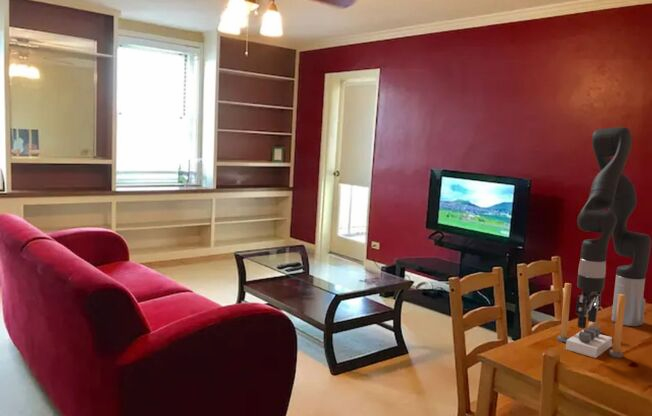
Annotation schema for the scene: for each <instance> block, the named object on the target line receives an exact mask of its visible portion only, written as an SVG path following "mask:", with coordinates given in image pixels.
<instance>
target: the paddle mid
mask: <svg viewBox="0 0 652 416" xmlns="http://www.w3.org/2000/svg"><path fill="white" fill-rule="evenodd" d="M583 330H584V332H586V333H590V334H591V339H593V340H594V339H595V337H596V331H595V330H591V329H588V327H587V328H584V329H583Z"/></svg>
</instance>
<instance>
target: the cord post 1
mask: <svg viewBox="0 0 652 416" xmlns="http://www.w3.org/2000/svg"><path fill="white" fill-rule="evenodd" d="M563 289H564V290H563V300H562V311H561V324H560V334H559V335H557V341H558V342H559V343H563V344H565V343H566V340H567V339H569V338H570V336H568V329H569V328H568V327H569V316H570V306H571V305H570V304H571V295H572V283H569V282H565V283H564V288H563Z"/></svg>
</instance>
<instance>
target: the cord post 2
mask: <svg viewBox="0 0 652 416" xmlns="http://www.w3.org/2000/svg"><path fill="white" fill-rule="evenodd" d="M625 299H626V295H623V294H618V303H617V313H616V322H614V323H615V325H614V333H613V340H612V343H613V344H612V349H609V353H608V355H609V356H610V357H612V358H615V359H620V358H623V356H624V355H623V354H624V353H623V351H622V350H621V345H622V337H623V335H622V334H623V327H624V325H623V318H624V309H625Z"/></svg>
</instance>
